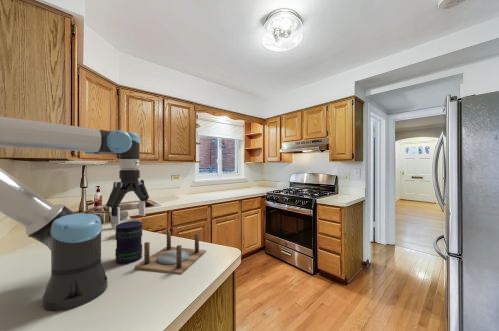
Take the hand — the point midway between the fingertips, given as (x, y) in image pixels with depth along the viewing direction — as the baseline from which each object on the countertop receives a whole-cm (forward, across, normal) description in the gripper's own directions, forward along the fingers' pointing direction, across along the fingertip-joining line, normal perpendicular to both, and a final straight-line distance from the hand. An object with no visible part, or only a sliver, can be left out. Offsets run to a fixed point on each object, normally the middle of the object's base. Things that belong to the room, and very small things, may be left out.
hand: (130, 219), depth 87 cm
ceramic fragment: (+17, +38, +44) cm, 61 cm away
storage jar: (+17, 0, 0) cm, 17 cm away
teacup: (+17, +26, +26) cm, 40 cm away
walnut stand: (+17, +3, -19) cm, 25 cm away
